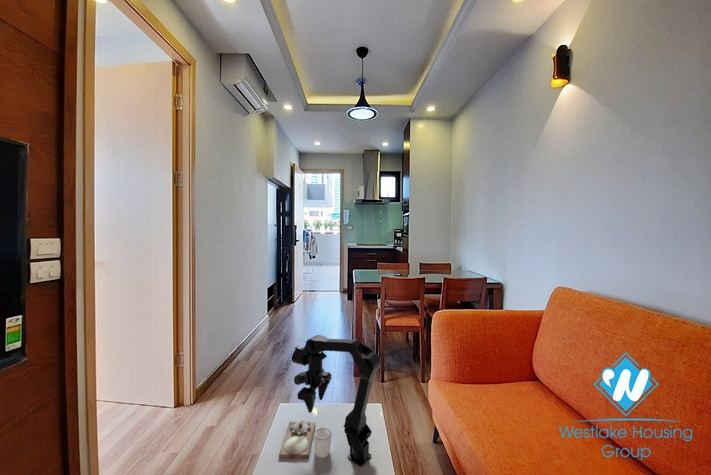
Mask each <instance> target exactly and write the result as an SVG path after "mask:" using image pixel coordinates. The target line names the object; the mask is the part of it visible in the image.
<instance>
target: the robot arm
mask: <svg viewBox="0 0 711 475" xmlns="http://www.w3.org/2000/svg"><path fill="white" fill-rule="evenodd" d="M325 351H326V352H340V353H341V352H342V353H349V354H350V355H351V357H352V360H353V362H354V364H355V365H356V366H357V367H358V375H359V382H358V388H357V391H356V392H357V393H356V396H355V400H354V405H353V409H352V410H351V411H349V413H348V414H347V415H346V416H345V418H344V419H345V420H344V425H343V426H342V427H343V428H344V434H345V436H346V440H347V444H348V446H349V454H348V455H347V459H348V460H350V461H351V462H353V463H355V464H357V465H358V466H359V467H363V466H364V464H366V462H367V461H369V459H370V458H371V457H372V454H371V453H370V452H369V451H370V442H369V441H368V439H370V437H371V435H372V432H373V431H372V429H371V428H370V427H369V426H368V424H367V416H366V410H367V406H368V402H369V397H370V392H371V389H372V385H373V380H374V378H375V376H376V375H377V373H378V371H379V369H380V366H381V364H382V359H381V358H380V356H379V355H378V354H377V353H375V351H374V350H373V349H372V348H370V347H369V346H367V345H365V344H364V343H363V342H361V340H359V338H358V339H357V338H354V339H346V338H345V339H344V338H328V337H327V336H325V335H320V334H317V335H315V336H312V337H311V338H309V339H307V340H306V342H305V345H304V347H302V346H300V345H298V346H296V347H294V350H293V353H292V356H291V362H292V363H294V364H297V365H300V366H304V367H305V366H308V367H307V368H308V370H306V371H302V372H300V373H297V374H296V375H295V376H294V378H293V379H294V380H293V382H294V385H297V386H300V385H301V384H303V385H305V386H309V387H305V386H303V387H302V388H301V389H300V390H299V391H298V392H297V400H301V401H303V402H304V403H305V406H306V408H307V411H308V413H310V414H311V413H312V412H313V409H314V406H315V402H316V399H317V392H318V400H320V401H323V399H324V396H325V394H326V391H327V389H328V386H329V385H330V383H331V380H332V374H331V373H330V372H329V371H325V368H323V360H324V359H326V358H327V357H328V356H327V354H325ZM361 354H362V355H364V357H362V355H361ZM317 390H318V391H317Z"/></svg>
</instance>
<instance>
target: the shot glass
mask: <svg viewBox="0 0 711 475" xmlns="http://www.w3.org/2000/svg"><path fill="white" fill-rule="evenodd" d="M332 434H333V433H332V431H331V429H329V428H327V427H322V428H321V427H320V428H317V429H316V430H314V434H313V444H314V447H313V448H314V454H315V456H316V457H318V458H322V459H323V458H326V457H328V456H329V455H330V452H331V443H332Z"/></svg>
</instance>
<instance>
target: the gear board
mask: <svg viewBox="0 0 711 475" xmlns="http://www.w3.org/2000/svg"><path fill="white" fill-rule="evenodd" d="M315 429H316V421H304V419H301V420H300V421H289V422H288V426H287V429H286V433H285V435H284V437H283V441H282V444H281V448H280V449H279V453H278V459H306V460H307V459H309V458H310V454H311V448H312V445H313V440H314V432H315Z"/></svg>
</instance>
